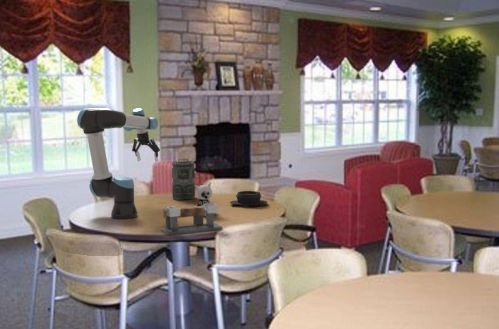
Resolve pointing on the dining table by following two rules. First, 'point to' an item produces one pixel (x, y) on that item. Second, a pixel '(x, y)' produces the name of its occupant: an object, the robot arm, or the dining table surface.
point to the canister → (183, 180)
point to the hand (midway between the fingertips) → (148, 160)
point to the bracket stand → (174, 228)
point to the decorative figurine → (203, 194)
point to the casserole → (248, 198)
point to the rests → (196, 220)
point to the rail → (187, 212)
